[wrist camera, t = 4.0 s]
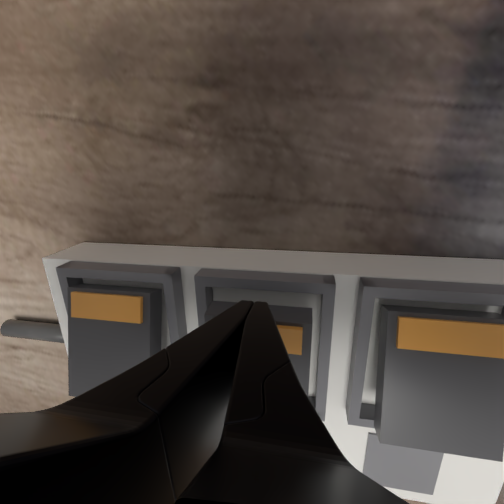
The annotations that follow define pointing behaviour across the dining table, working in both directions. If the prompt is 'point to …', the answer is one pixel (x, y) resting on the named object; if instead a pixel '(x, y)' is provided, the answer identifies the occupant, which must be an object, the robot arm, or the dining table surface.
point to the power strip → (323, 332)
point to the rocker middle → (285, 333)
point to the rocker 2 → (441, 381)
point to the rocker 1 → (110, 331)
